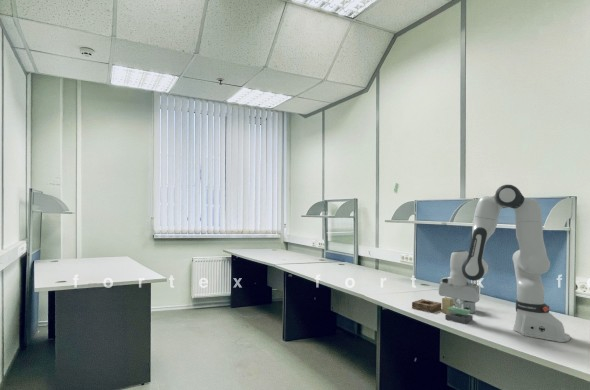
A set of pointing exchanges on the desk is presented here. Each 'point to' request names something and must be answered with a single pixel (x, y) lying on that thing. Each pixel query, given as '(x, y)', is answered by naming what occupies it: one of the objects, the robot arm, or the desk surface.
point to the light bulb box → (468, 305)
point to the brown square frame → (426, 305)
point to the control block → (459, 317)
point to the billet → (447, 304)
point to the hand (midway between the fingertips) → (458, 307)
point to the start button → (459, 311)
